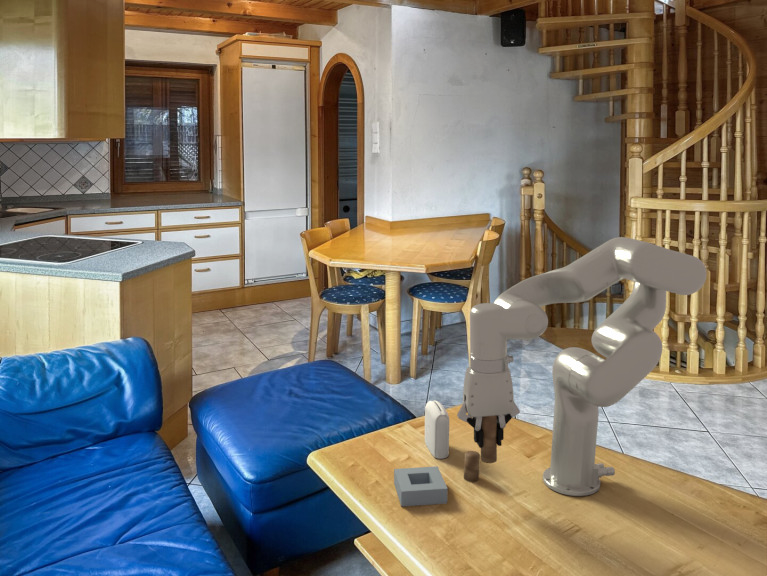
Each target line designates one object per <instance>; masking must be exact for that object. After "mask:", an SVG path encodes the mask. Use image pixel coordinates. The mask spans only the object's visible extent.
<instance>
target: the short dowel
mask: <svg viewBox="0 0 767 576" xmlns="http://www.w3.org/2000/svg"><path fill="white" fill-rule="evenodd" d="M480 461H481V453H479V451H476V450H466V451H465V452H464V462H463V463H464V465H463V479H464V481H467V482H471V483H474V482H478V481H479V480H480V478H479V477H480V463H481V462H480Z"/></svg>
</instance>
